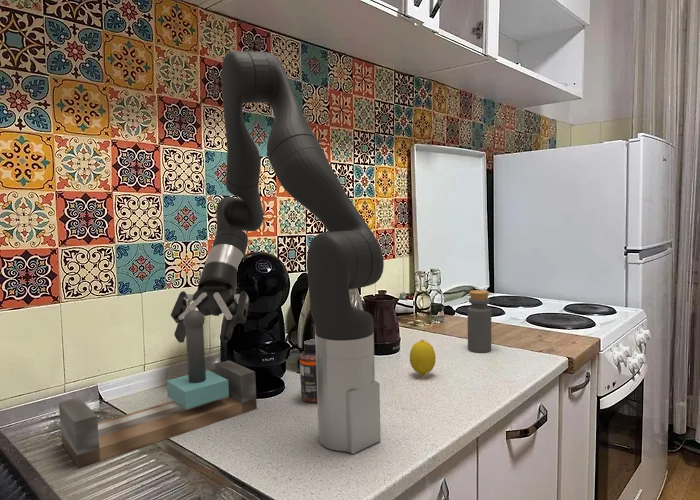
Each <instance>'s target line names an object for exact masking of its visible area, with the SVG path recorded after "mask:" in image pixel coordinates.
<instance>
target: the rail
mask: <svg viewBox="0 0 700 500" xmlns="http://www.w3.org/2000/svg"><path fill="white" fill-rule="evenodd" d="M214 369H215V374H217V375H219V376H221V377H223V378H225V379H227V380H228V389H229V396H228V397H224V398H221V399H218V400H214V401H211V402H208V403H204V404H201V405H198V406H195V407H191V408H188V409H185V408H184V407H182V406H181V405H179V404H178V403H177V402H175V401H174V400H170V401H168V402H164V403H161V404H158V405H155V406H151V407H148V408H147V407H146V408H144V409H140V410H137V411H133V412H130V413H129V412H128V413H126V414H123V415H120V416H116V417H113V418H109V419H105V420H102V421H98V415H97V414H96V413H95V412H94V411H93V410H92V409H91V408H90V407H89V405H87V403H85V401H84V400H82V399H81V397H77V398H74V399H73V398H72V399H69V400H66V401H65V400H64V401H61V402H58V410H59V422H60V434H61V446H62V447H63V448H64V450H65V452H66V454H68V456H69V457H70V459H71V460H72V461H73V463H74V465H75V466H76V467H77V469H80V468H84V467H86V466H89V465H93V464H96V463H98V462H102V461H104V460H107V459H111V458H114V457H116V456H119V455H122V454H125V453H128V452H131V451H134V450H137V449H139V448H143V447H145V446H146V447H147V446H149V445H151V444H155V443H158V442H160V441H163V440H166V439H169V438H173V437H176V436H178V435H182V434H185V433H187V432H190V431H193V430H195V429H200V428H203V427H205V426H207V425H208V426H209V425H211V424H214V423H218V422H220V421H223V420H226V419H229V418H232V417H235V416H238V415H241V414H244V413H247V412H250V411H253V410H255V409H257V408H258V406H257V385H256V383H257V381H256V371H255V370H252V369H250V368H247V367H245V366H243V365H241V364H238V363H237V362H235V361H232V360H226V361H225V360H224V361H221V362H216V363H215V364H214Z"/></svg>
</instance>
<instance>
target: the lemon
mask: <svg viewBox="0 0 700 500" xmlns="http://www.w3.org/2000/svg"><path fill="white" fill-rule="evenodd" d="M436 359H437V358H436V353H435V349H434V346H433V345H432V344H430V343H429V342H428V341H425V340H424V339H420V340H419V341H416V343H414V344H413V345H412V346H411V349H410V351H409V362H410V366H411V368H412V369H413V371H415V372H416V373H418V374H420V376H421V377H424V376H426V375H427V374H428V373H430V372H432V370H433V369H434V367H435V365H436Z"/></svg>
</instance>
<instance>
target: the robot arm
mask: <svg viewBox="0 0 700 500" xmlns="http://www.w3.org/2000/svg"><path fill="white" fill-rule="evenodd" d="M293 90H294V89H293V88H292V85H291V82H290V80H289V78H288V74H287V72H286V70H285V67H284V66H283V64H282V62H281V60H280V59H279V58H278V57H277V56H276V54H273V53H271V52H267V51H251V50H250V51H249V50H248V51H247V50H246V51H245V50H238V51H237V50H232V51H228V53H227V54H225V56H224V58H223V61H222V66H221V92H222V93H221V94H222V105H223V118H224V128H225V137H226V171H225V172H226V173H225V188H226V190H227V191H228V193H230V194H231V195H233V196H235V197H233V196H225V197H222V199H220V200H219V201H218V202H217V204H216V205H217V206H216V208H215V209H216V210H215V217H216V232H215V237H214V240H213V243H212V246H211V249H210V251H209V253H208V255H207V257H206V260H205V262H204V263H205V264H204V266H203V269H202V272H201V275H200V278H199V280H198V284H197V290H196V291H195V292H194V293H192V294H191V293H190V294H189V293H187V292H186V291H184V290H183V291H181V292H180V293H179V294H178V297H177V299H176V301H175V304H174V305H173V308H172V311H171V313H170V317H171V318H172V319H173V321H174V322H175V323H176V324H177V325H176V328H175V332H174V338H175V339H176V340H177V342H178V343H179V344H181V343H184V342H185V340H186V327H185V325H184V322H183V320H184V317H185V315H186V314H187V313H188V312H190V311H193V310H196V309H197V311H199V312H201V313H202V314H203V316H204V317H207V316H211V315H212V316H215V317H217V316H218V317H219V316H220V315H222V314H223V315H224V317H225V318H226V320H223V324H222V326H221V328H222V329H221V332H220V334H219V339H220V341H221V343H222V344H227V343H228V341H230V340H231V338H232V335H233V332H234V327H235V326H236V325H237V324H242V325H243V324H245V323H246V322H247V316H248V310H249V304H250V298H249V295H248V294H247V291H245V290H242V291H241V292H240V293H237V290H236V289H238V286H237V272H238V266H239V264H240V262H241V260H242V258H243V257H244V258H245V256H246V252H247V249H248V244H249V237H248V235H247V233H246V232H249V233H250V232H256V231H258V230H260V228H261V227H262V225H263V221H264V209H263V204H262V201H261V196H260V189H259V188H260V187H259V186H260V183H259V182H260V174H261V165H262V162H261V155H260V151H259V148H258V147H257V144H256V142H255V141H254V139H253V138H252V136H251V133H250V132H249V131H248V128H247V126H246V124H245V122H244V115H243V106H244V104H250V103H251V104H255V103H257V104H260V103H263V104H264V103H266V104H268V105H269V106H270V107H271V109H272V111H273V114H274V119H273V123H272V126H271V128H270V131H269V135H268V139H267V143H266V154H267V158H268V161H269V163H270V166H271V167H272V169H273V172H274V173H275V176H276V178H277V180H278V183H279V184H280V186H281V187H282V188H283V189H284V190H285V191H286V192H287V194H289V196H291V197H292V198H293V199H294V200H295V201H297V202H298V203H299V204H300V205H302V206H303V207H304V208H305V209H306V210H307V211H309V212H310V213H311V214H312V215H314V216H315V217H316V218H317V219H318V220H319V221H320V222H321V223H322V225H323V227H324V228H325V229H326V230H327V232H326V231H325V232H321V233H318V234H317V235H315V236H314V237H313V238H312V240H311V241H310V242H309V245H308V249H307V254H306V271H307V273H306V274H307V282H308V283H307V284H308V285H307V286H308V294H309V295H308V296H309V307H310V314H311V317H312V321H313V324H314V326H315V340H316V373H317V402H316V404H317V422H318V423H317V424H318V425H317V426H318V441H319V443H320V444H321V445H322V447H325V448H327V449H329V450H333V451H338V452H347V453H350V454H355V453H358V452H360V451H362V450H364V449H367V448H369V447H370V446H373V445H375V444H376V443H379V442H381V440H382V437H381V436H382V435H381V433H382V432H381V399H380V396H381V395H380V393H381V392H380V390H381V388H380V383H379V381H376V380H375V379H376V378H375V375H376V373H375V333H374V332H375V331H374V329H375V328H374V326H375V325H374V317H373V315H372V314H371V313H370V312H368V311H366V310H363V309H358V308H355V307H354V306H353V305H352V303H351V302H352V301H351V296H350V290H354V289H355V290H356V289H361V288H365V287H370V286H372V285H374V284H376V283H377V282H379V280H380V279H381V278H382V275H383V273H384V268H385V267H384V266H385V265H384V264H385V261H384V256H383V251H382V249H381V245H380V243H379V241H378V239H377V237H376V236H375V234H374V233H373V231H372V230H371V228H370V227H369V225H368V224H367V223H366V221H365V220H364V218H363V217H362V215H361V214H360V212H359V211H358V210H357V209H356V206H355V205H354V203H353V202H352V201H351V199H350V198H349V196H348V194H347V192H346V190H345V189H344V187H343V185H342V184H341V182H340V180H339V178H338V176H337V175H336V173H335V170H334V169H333V168H332V165H331V163H330V161H329V159H328V157H327V155H326V153H325V151H324V150H323V148H322V146H321V145H320V143H319V140H318V138H317V137H316V135H315V133H314V132H313V130H312V128H311V126H310V125H309V123H308V120H307V119H306V117H305V115H304V113H303V111H302V109H301V107H300V105H299V102H298V100H297V98H296V95H295V93H294V91H293ZM235 302H236V303H237V307H236V308H237V309H236V312H235V313H236V314H235V313H234V314H232V313H231V311H230V309H229V308H230V307H231V306H232V305H233V304H234V303H235Z"/></svg>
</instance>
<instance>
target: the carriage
mask: <svg viewBox="0 0 700 500" xmlns="http://www.w3.org/2000/svg"><path fill="white" fill-rule="evenodd" d="M183 322H184V325H185V327H186V337H185V340H186V355H187V356H186V357H187V358H186V361H187V374H185V375H183V376H182V375H181V376H180V377H173V378H171V379H167V380H166V389H167V393H166V394H167V397H168V398H170V399H171V401H175V402H177V403H178V404H179V405H181V406H182V407H184V408H185V409H188V408H191V407H195V406H198V405H201V404H204V403H208V402H211V401H214V400H218V399H221V398H224V397H228V396H229V389H228V380H227V379H225V378H223V377H221V376H219V375H217V374H216V372H213V371H211V370H209V369H206V355H205V354H206V352H205V339H204V338H205V336H204V335H205V334H204V324H205V316H204V315H203V314H202V313H201V312H199V311H198V310H196V309H195V310H193V311H190V312H188V313H187V314H186V315H185V317H184V320H183Z"/></svg>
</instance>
